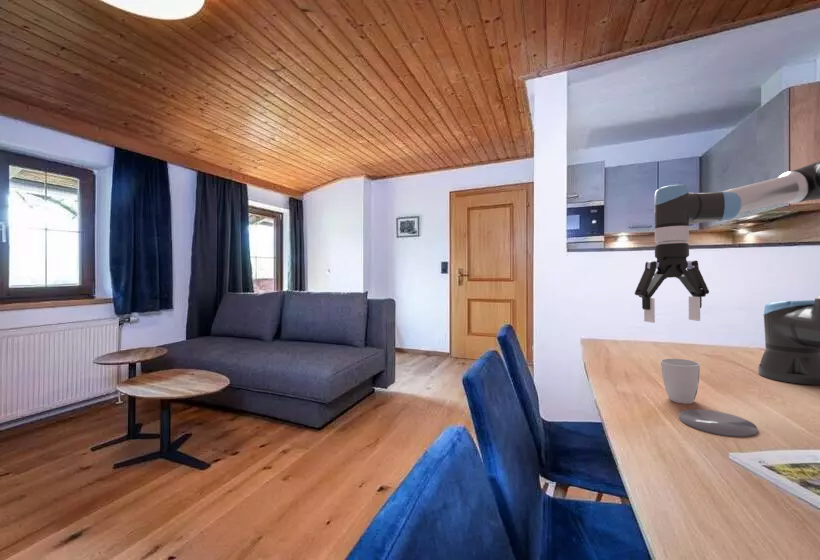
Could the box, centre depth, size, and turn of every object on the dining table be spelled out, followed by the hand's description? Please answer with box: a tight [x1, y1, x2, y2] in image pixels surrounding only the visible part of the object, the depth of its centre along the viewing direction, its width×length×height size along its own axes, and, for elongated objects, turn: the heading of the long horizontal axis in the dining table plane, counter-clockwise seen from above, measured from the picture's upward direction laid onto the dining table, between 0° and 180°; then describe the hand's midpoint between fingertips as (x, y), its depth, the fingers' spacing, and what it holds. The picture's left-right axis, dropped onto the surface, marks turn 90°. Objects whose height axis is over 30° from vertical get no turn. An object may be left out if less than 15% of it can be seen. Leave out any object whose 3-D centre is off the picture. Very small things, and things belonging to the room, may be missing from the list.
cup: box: [660, 358, 701, 405], centre depth 92 cm, size 8×8×10 cm
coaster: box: [678, 409, 758, 438], centre depth 78 cm, size 13×13×1 cm
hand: (672, 321), depth 96 cm, fingers open, 13 cm apart
